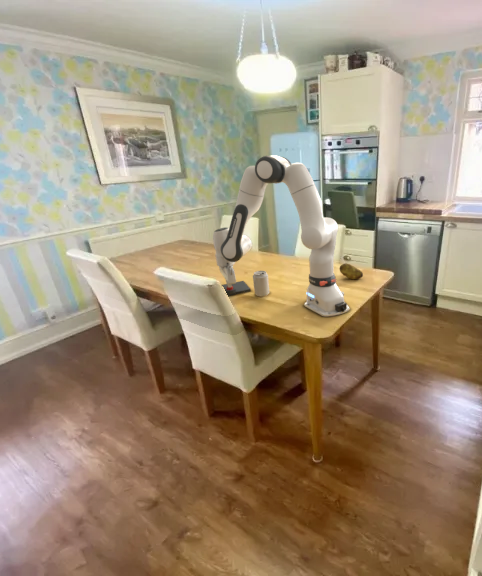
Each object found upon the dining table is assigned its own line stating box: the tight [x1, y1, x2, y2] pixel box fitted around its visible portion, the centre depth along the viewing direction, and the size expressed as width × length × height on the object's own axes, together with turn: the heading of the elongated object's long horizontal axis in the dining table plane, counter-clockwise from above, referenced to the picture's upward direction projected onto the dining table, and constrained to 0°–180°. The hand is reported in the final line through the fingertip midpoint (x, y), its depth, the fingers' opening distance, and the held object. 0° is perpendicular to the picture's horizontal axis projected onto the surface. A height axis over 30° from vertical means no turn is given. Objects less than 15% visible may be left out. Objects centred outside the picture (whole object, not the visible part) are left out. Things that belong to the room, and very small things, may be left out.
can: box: [252, 270, 270, 298], centre depth 160 cm, size 8×8×12 cm
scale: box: [221, 280, 251, 297], centre depth 169 cm, size 15×13×3 cm
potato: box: [339, 263, 364, 280], centre depth 179 cm, size 8×13×8 cm, turn 50°
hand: (229, 286), depth 162 cm, fingers closed, pressing on tare button
